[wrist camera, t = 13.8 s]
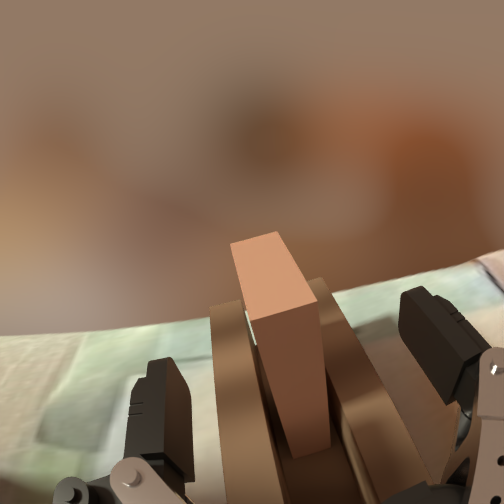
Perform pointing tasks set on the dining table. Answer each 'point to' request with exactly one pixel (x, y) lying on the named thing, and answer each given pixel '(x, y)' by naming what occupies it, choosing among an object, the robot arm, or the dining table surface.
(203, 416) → the dining table surface
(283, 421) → the block
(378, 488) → the rack
